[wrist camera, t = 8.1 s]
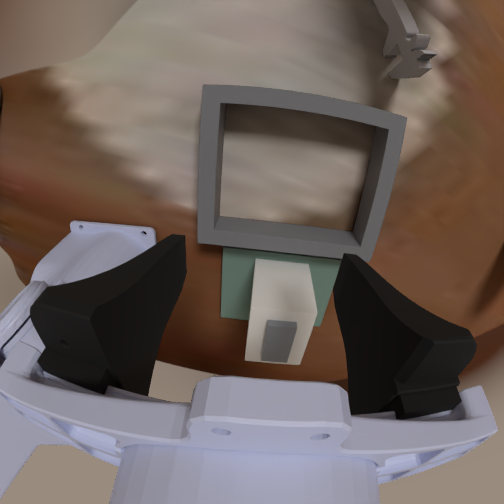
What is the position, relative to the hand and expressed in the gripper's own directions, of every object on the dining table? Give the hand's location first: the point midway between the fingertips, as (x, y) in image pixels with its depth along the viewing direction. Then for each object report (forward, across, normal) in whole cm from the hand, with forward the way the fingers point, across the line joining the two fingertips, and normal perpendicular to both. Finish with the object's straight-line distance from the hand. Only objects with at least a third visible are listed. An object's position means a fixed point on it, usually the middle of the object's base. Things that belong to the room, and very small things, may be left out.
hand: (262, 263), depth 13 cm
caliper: (+10, -5, -20) cm, 23 cm away
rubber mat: (+10, -2, +9) cm, 14 cm away
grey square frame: (+10, -2, -2) cm, 10 cm away
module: (+9, -2, +9) cm, 13 cm away
